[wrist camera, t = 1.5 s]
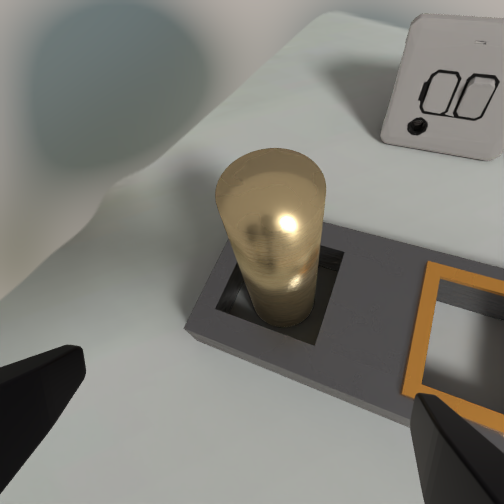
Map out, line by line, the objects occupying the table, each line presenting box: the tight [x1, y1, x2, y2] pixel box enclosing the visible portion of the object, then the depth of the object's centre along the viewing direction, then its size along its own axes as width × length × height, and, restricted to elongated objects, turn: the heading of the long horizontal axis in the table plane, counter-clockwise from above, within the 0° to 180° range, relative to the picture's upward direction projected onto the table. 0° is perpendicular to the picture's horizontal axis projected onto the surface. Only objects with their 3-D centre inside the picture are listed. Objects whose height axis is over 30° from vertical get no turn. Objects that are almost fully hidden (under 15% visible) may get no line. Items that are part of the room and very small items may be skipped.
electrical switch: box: [380, 13, 504, 161], centre depth 25 cm, size 9×5×9 cm, turn 68°
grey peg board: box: [184, 222, 504, 453], centre depth 20 cm, size 21×10×3 cm, turn 68°
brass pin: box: [215, 148, 326, 327], centre depth 18 cm, size 4×4×12 cm
